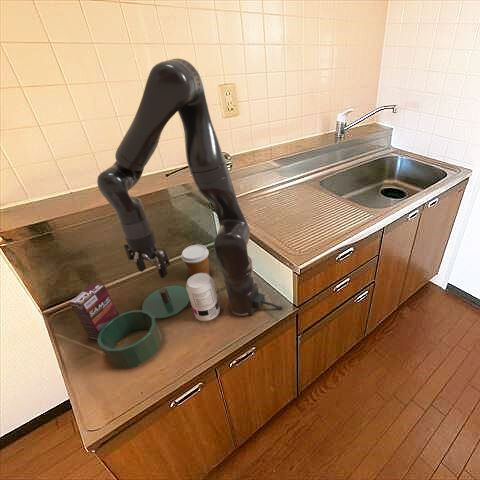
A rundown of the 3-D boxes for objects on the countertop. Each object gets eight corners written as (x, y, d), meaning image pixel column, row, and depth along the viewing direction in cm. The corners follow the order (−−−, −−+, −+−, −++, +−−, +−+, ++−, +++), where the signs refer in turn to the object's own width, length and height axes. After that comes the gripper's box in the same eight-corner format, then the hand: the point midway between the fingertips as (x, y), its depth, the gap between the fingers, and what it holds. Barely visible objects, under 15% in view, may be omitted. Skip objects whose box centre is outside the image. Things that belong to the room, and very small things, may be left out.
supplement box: (103, 341, 97) (82, 305, 88) (90, 338, 98) (67, 302, 89) (123, 320, 104) (105, 284, 95) (110, 317, 105) (91, 282, 96)
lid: (200, 293, 115) (196, 281, 112) (170, 325, 103) (165, 312, 99) (165, 283, 119) (161, 271, 116) (132, 313, 107) (126, 300, 104)
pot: (172, 335, 100) (165, 317, 95) (136, 375, 88) (126, 357, 84) (136, 322, 104) (127, 305, 99) (96, 359, 92) (85, 341, 88)
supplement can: (190, 318, 105) (179, 285, 97) (205, 301, 112) (196, 269, 103) (210, 325, 103) (201, 292, 95) (225, 307, 110) (217, 275, 101)
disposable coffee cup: (203, 287, 118) (196, 261, 111) (182, 280, 121) (174, 255, 114) (218, 271, 125) (213, 247, 118) (198, 265, 128) (192, 241, 121)
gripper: (108, 233, 92) (127, 275, 101) (147, 243, 88) (163, 286, 98) (129, 220, 98) (144, 261, 107) (166, 229, 94) (179, 271, 103)
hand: (153, 273), depth 102 cm, fingers open, 8 cm apart
